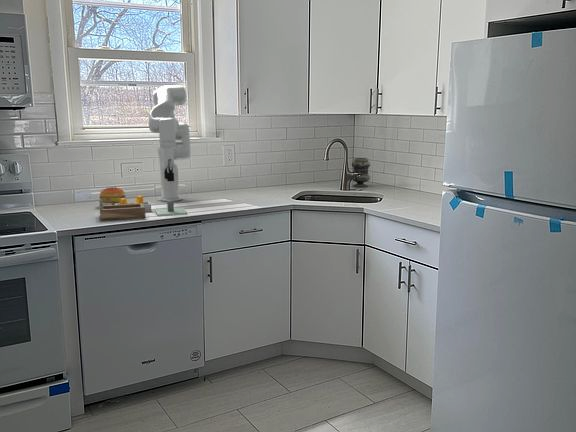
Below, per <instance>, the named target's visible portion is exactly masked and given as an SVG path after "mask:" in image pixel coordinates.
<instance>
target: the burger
mask: <svg viewBox="0 0 576 432" xmlns="http://www.w3.org/2000/svg"><path fill="white" fill-rule="evenodd" d="M126 196H127V195H126V193H125V191H124V190H123V189H121V188H119V187H115V186H113V187H106V188H103V190H101V191H100V193H99V200H102V204H103V205H115V203H120V199H122V198H124V199H126Z"/></svg>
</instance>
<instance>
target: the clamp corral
mask: <svg viewBox="0 0 576 432" xmlns="http://www.w3.org/2000/svg"><path fill="white" fill-rule="evenodd" d="M127 203H128V204H134V203H135V202H127ZM143 204H144V207H145V213H146V212H152V204H151V202H150V201H143ZM115 205H120V203H115Z"/></svg>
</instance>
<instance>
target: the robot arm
mask: <svg viewBox="0 0 576 432" xmlns="http://www.w3.org/2000/svg"><path fill="white" fill-rule="evenodd" d="M152 100H153V104H154V107H153V108H152V109H151V110H150V112H149V115H148V128H149V131H150V133H152V134H158V135H159V136H158V138H159V145H158V146H157V154H158V158H159V168H160V169H159V170H160V187H161V189H160V191H161V192H160V193H161V196H159V197H158V200H159V201H160V202H167V201H174V202H178V201H181V200H183V197H182V196H181V195H180V192H179V191H180V190H179V189H180V188H179V187H180V185H179V168H178V165H177V164H176V163H175V161H180V160H181V161H182V160H188V159H190V158H191V139H190V137H191V136H190V135H191V134H190V128H189V125H188V124H187V123H186V122H179V120H178V119H177V118H176V117H175V116H176V115H175V110H176V106H184V105H185V104H186V101H187V92H186V89H185V87H184V86H182V85H163V86H160V87H159V88H158V89H155V90H154V91H153V92H152ZM176 141H179V142H176Z"/></svg>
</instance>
